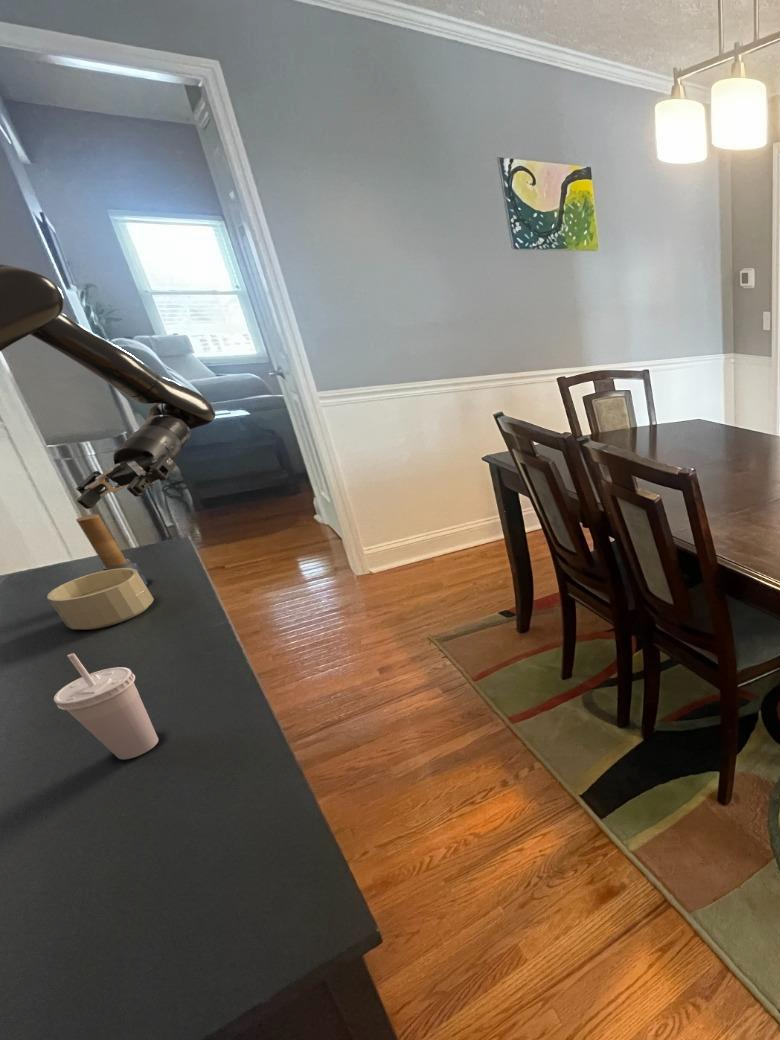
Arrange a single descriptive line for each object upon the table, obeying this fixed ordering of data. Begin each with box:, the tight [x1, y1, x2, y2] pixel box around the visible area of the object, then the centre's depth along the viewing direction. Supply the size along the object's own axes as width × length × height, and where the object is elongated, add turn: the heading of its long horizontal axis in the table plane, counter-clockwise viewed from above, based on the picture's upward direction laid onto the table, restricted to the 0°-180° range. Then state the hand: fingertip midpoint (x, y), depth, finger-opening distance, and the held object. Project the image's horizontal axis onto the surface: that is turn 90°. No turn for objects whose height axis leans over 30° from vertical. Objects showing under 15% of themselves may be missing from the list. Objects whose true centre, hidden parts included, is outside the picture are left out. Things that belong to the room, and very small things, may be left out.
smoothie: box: [53, 652, 159, 760], centre depth 68 cm, size 6×6×14 cm
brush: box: [75, 513, 148, 586], centre depth 105 cm, size 5×5×14 cm
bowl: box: [46, 568, 155, 631], centre depth 98 cm, size 11×11×6 cm
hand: (108, 498), depth 108 cm, fingers open, 8 cm apart
